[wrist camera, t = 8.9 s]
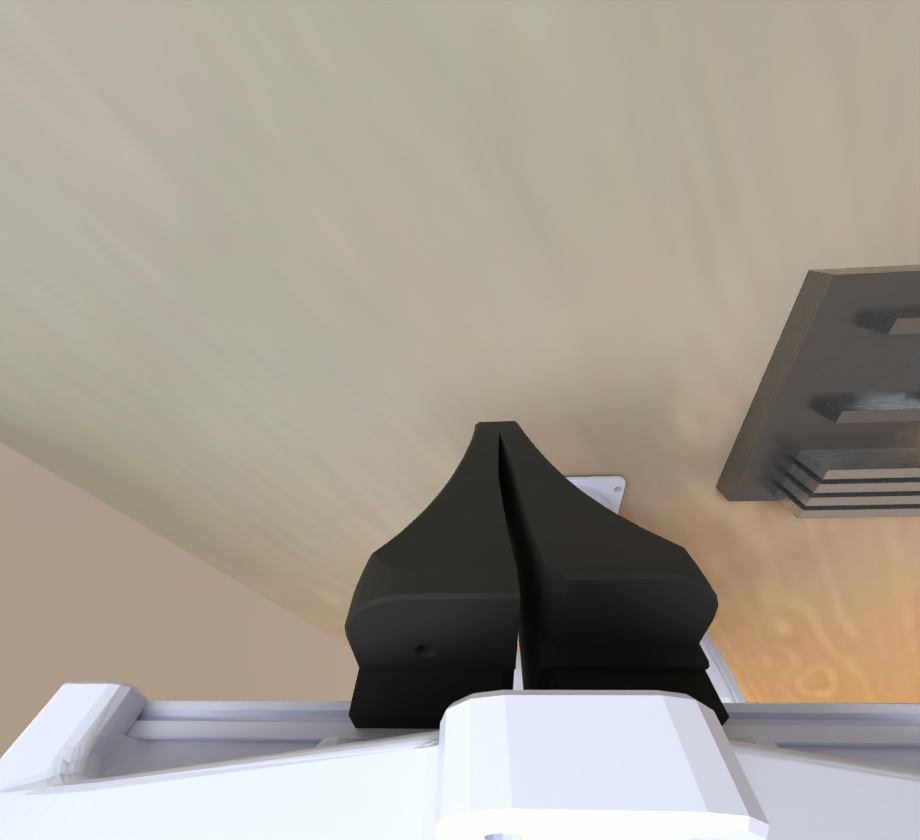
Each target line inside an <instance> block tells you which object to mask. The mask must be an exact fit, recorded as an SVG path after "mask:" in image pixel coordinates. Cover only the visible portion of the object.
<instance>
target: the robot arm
mask: <svg viewBox="0 0 920 840" xmlns="http://www.w3.org/2000/svg"><path fill="white" fill-rule="evenodd" d="M625 485H626V481H625V480H624V478H623V477H621V476H593V477H564V476H563V475H562V474H561V473H560V472H559V471H558V470H557V469H556V468H555V467H554V466H553V465H552V464H551V463H550V462H549V461H548V460H547V459H546V458H545V457H544V456H543V455H542V454H541V452H540V451H539V450H538V449H537V448H536V447H535V446H534V444H533V443H532V442H531V441H530V440H529V438H528V437H527V436H526V434H525V433H524V432H523V430H522V429H521V428H520V426H519V425H518V423H516V422H515V421H505V422H479V423H477V424H476V425H475V431H474V434H473V437H472V440H471V442H470V445H469V447H468V449H467V451H466V453H465V455H464V457H463V459H462V461H461V462H460V464H459V466H458V467H457V469H456V471H455V472H454V474H453V476H452V477H451V479H450V480H449V481H448V483H447V484H446V485H445V487H444V488H443V489H442V491H441V492H440V493H439V494H438V496H437V497H436V498H435V499H434V500H433V501H432V503H431V504H430V505H429V506H428V507H427V508H426V509H425V510H424V511H423V512H422V513H421V514H420V515H419V516H418V517H417V518H416V519H415V520H414V521H413V522H412V523H410V524H409V525H408V526H407V527H406V528H405V529H404V530H403V531H402V532H400V533H399V534H398V535H397V536H396V537H394V538H393V539H392V540H390V541H389V542H388V543H386V544H385V545H384V546H382V547H381V548H380V549H378V550H377V551H375V552H374V553H373V554H372V555H371V557H370V558H369V560H368V562H367V564H366V566H365V568H364V570H363V573H362V575H361V577H360V580H359V582H358V584H357V587H356V589H355V592H354V595H353V598H352V602H351V605H350V609H349V613H348V616H347V620H346V623H345V631H346V636H347V639H348V641H349V644H350V646H351V648H352V651H353V653H354V656H355V658H356V661H357V663H358V665H359V672H358V676H357V680H356V685H355V689H354V693H353V698H352V701H153V700H152V701H150V700H149V701H148V700H147V698H146V696H145V695H144V694H143V693H142V692H141V691H140V690H139V689H138V688H136V687H134V686H132V685H130V684H126V683H123V682H111V681H108V682H106V681H105V682H104V681H101V682H99V681H90V682H88V681H85V682H84V681H71V682H68V683H65V684H64V685H63V686H62V687H61V688H60V689H59V691H58V692H57V693H56V694H55V695H54V697H53V698H52V699H51V700H50V701H49V702H48V704H47V705H46V706H45V707H44V708H43V709H42V710H41V712H40V713H39V714H38V715H37V716H36V717H35V719H34V720H33V721H32V722H31V723H30V725H29V726H28V727H27V728H26V729H25V731H24V732H23V733H22V734H21V735H20V737H18V739H17V740H16V741H15V742H14V743H13V744H12V746H11V747H10V748H9V749H8V750H7V752H6V753H5V754H4V755H3V756H2V758H1V759H0V840H920V704H908V703H747V701H746V699H745V697H744V695H743V693H742V691H741V689H740V688H739V686H738V684H737V682H736V680H735V678H734V676H733V674H732V672H731V671H730V669H729V667H728V665H727V663H726V662H725V660H724V658H723V656H722V655H721V653H720V651H719V650H718V648H717V646H716V645H715V643H714V642H713V640H712V638H711V637H710V635H709V634H708V632H707V629H708V628H709V626H710V624H711V623H712V621H713V619H714V617H715V614H716V611H717V608H718V600H717V595H716V594H715V592H714V590H713V589H712V587H711V586H710V584H709V583H708V581H707V579H706V578H705V576H704V575H703V573H702V572H701V570H700V569H699V567H698V566H697V564H696V563H695V562H694V560H693V559H692V558H691V557H690V555H689V554H688V553H687V551H686V550H685V549H684V548H683V547H681V546H679V545H677V544H675V543H673V542H671V541H668V540H666V539H664V538H662V537H660V536H658V535H656V534H653V533H651V532H649V531H647V530H645V529H643V528H641V527H639V526H637V525H636V524H634V523H632V522H630V521H628V520H627V519H625V518H623V517H621V516H619V515H618V512H619V508H620V504H621V501H622V497H623V493H624V489H625ZM616 487H618V488H616ZM615 488H616V489H615ZM518 635H519V646H520V648H519V649H518V651H517V641H518Z"/></svg>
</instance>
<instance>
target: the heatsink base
mask: <svg viewBox="0 0 920 840" xmlns="http://www.w3.org/2000/svg"><path fill="white" fill-rule="evenodd" d="M716 487H717V489H718V490H719V491H720V492H721V493H722V494H723V495H724V496H725V498H726V499H727V500H728V501H772V500H779V501H780V502H781V503H782V504H783V505H784V506H785V507H786V508H788V509H789V510H790V511H791V512H792V513H793V514H794V515H795V516H796V517H797V518H851V517H910V516H920V265H908V266H887V267H867V268H846V269H826V270H809V272H808V275H807V277H806V279H805V282H804V284H803V286H802V289H801V291H800V293H799V296H798V298H797V300H796V303H795V305H794V307H793V309H792V312H791V314H790V316H789V319H788V321H787V323H786V326H785V328H784V330H783V333H782V335H781V337H780V340H779V342H778V344H777V347H776V349H775V351H774V354H773V356H772V358H771V361H770V363H769V365H768V368H767V370H766V372H765V374H764V377H763V379H762V381H761V384H760V386H759V388H758V391H757V393H756V395H755V398H754V400H753V402H752V405H751V407H750V409H749V412H748V414H747V416H746V419H745V421H744V423H743V426H742V428H741V430H740V433H739V435H738V437H737V440H736V442H735V444H734V446H733V449H732V451H731V453H730V456H729V458H728V460H727V463H726V465H725V467H724V470H723V472H722V474H721V477H720V479H719V481H718V484H717V486H716Z"/></svg>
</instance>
